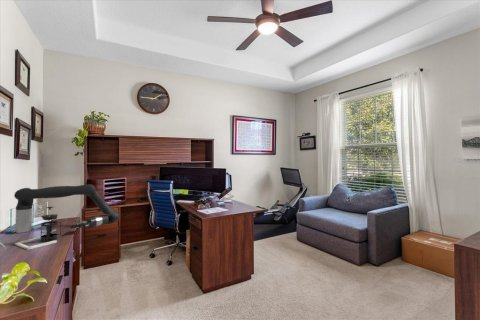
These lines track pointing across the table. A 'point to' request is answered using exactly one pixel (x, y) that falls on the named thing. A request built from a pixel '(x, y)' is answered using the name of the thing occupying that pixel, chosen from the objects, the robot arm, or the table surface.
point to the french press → (49, 228)
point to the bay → (34, 245)
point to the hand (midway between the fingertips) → (70, 226)
